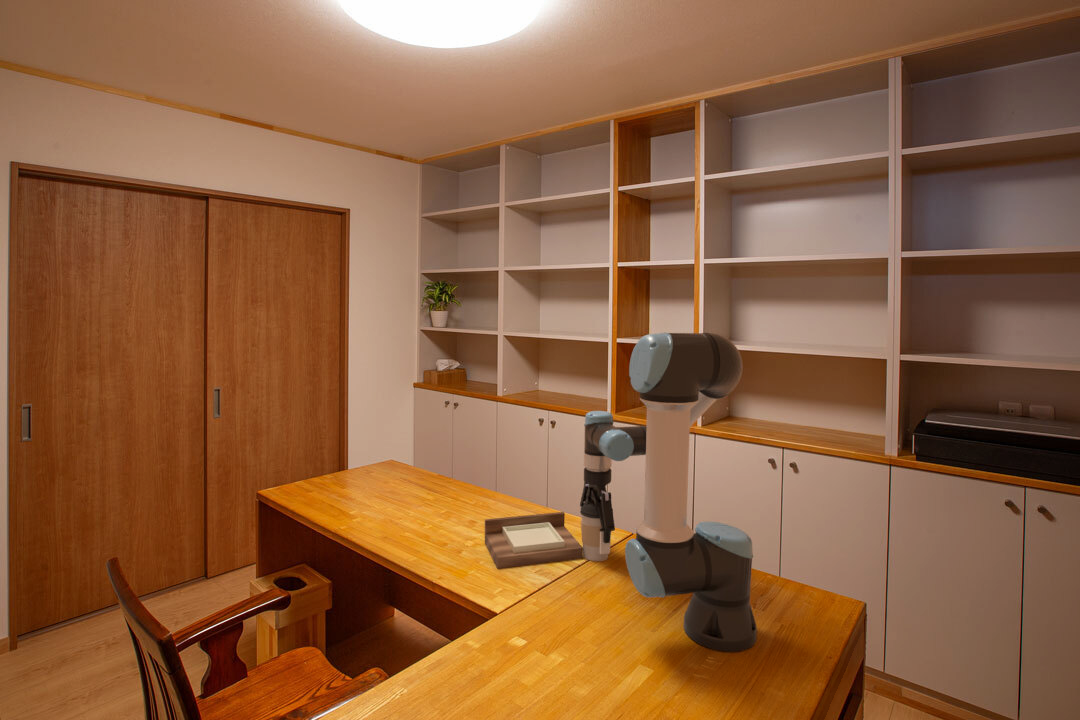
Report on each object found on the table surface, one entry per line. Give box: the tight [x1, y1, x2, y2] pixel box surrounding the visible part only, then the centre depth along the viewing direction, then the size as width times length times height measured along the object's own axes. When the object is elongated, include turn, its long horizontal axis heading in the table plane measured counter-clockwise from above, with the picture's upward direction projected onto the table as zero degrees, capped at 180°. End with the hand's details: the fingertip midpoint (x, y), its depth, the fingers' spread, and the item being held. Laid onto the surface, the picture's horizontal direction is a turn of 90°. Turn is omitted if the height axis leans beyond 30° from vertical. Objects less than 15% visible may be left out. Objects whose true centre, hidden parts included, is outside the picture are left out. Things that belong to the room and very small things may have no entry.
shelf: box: [484, 511, 584, 569], centre depth 169 cm, size 17×24×7 cm
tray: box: [502, 522, 564, 553], centre depth 169 cm, size 14×14×2 cm
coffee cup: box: [579, 500, 614, 562], centre depth 165 cm, size 9×9×15 cm
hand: (595, 543), depth 166 cm, fingers open, 12 cm apart
